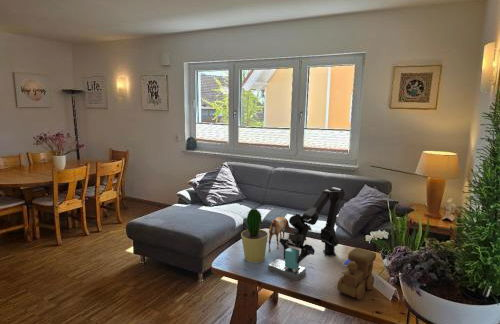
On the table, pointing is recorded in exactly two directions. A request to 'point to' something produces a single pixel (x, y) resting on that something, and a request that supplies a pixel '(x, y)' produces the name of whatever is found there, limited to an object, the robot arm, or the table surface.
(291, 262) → the clip
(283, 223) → the horse figurine
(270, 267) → the grey block with holes
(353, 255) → the wooden toy train
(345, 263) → the hard drive
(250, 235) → the potted cactus
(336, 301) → the table surface
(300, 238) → the robot arm
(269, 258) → the table surface
